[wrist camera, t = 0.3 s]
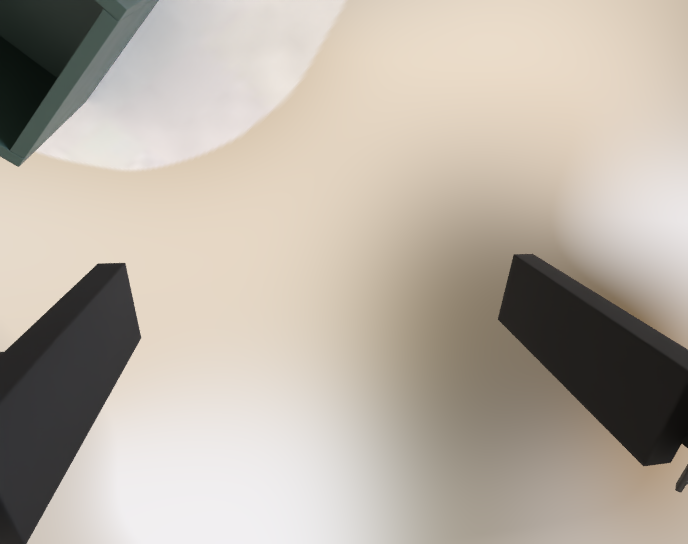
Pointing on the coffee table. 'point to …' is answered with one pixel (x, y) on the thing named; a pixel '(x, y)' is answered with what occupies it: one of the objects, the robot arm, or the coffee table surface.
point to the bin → (56, 62)
